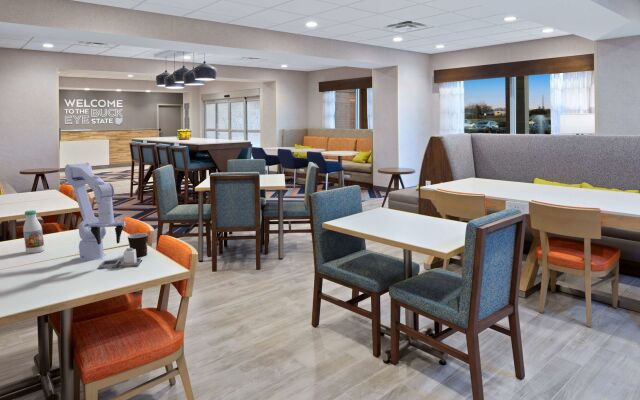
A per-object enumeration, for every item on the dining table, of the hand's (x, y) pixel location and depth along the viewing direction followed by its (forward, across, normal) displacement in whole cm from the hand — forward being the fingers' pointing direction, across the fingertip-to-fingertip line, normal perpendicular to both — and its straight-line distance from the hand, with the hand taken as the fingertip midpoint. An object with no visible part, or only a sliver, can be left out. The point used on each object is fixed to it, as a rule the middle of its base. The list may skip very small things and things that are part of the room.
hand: (108, 243), depth 198 cm
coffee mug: (+10, +10, +12) cm, 19 cm away
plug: (+9, +9, -2) cm, 13 cm away
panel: (+10, +5, -2) cm, 11 cm away
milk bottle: (+10, -43, +32) cm, 54 cm away
